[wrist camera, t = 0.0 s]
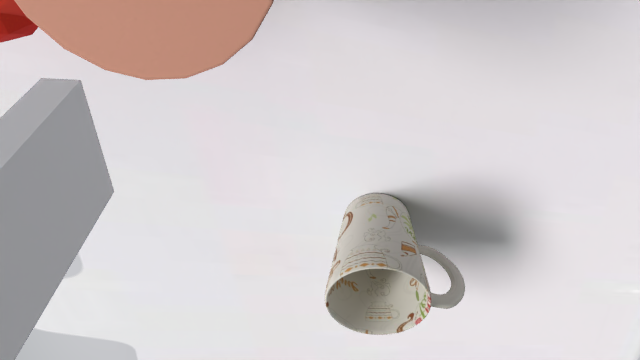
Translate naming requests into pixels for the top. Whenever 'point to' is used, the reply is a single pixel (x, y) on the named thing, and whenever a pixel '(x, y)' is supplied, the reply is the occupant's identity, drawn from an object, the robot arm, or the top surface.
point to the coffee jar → (150, 32)
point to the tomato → (14, 21)
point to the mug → (383, 270)
